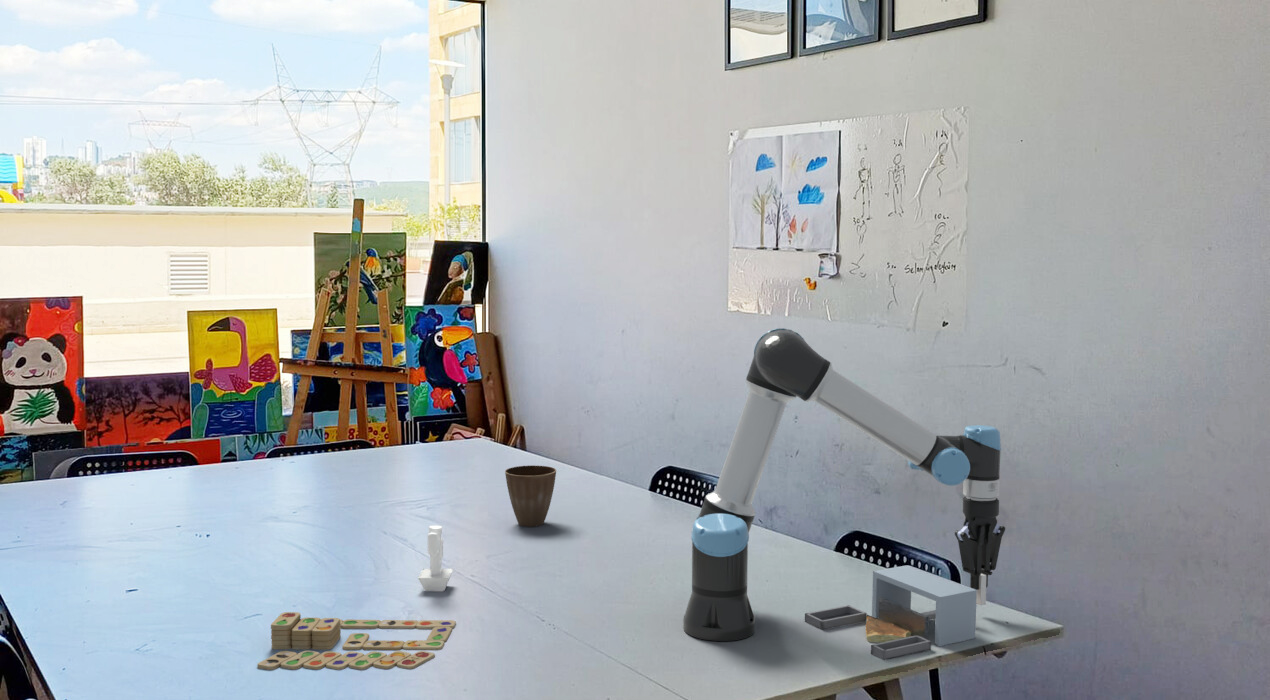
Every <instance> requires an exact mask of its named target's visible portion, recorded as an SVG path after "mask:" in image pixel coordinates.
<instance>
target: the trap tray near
mask: <svg viewBox="0 0 1270 700" xmlns="http://www.w3.org/2000/svg"><path fill="white" fill-rule="evenodd" d="M931 650H932V641H931V640H929V639H928V640H927V639H925V638H922V637H920V636H918V635H915V636H911V635H910V637H906V638H901V639H897V640H892V641H887V642H877V643H874V644H871V645H870V654H871V655H872V656H875V657H876V658H879V659H881V660H882V661H887V660H892V659H896V658H901V657H906V656H909V655H914V654H919V653H923V652H929V651H931Z"/></svg>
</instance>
